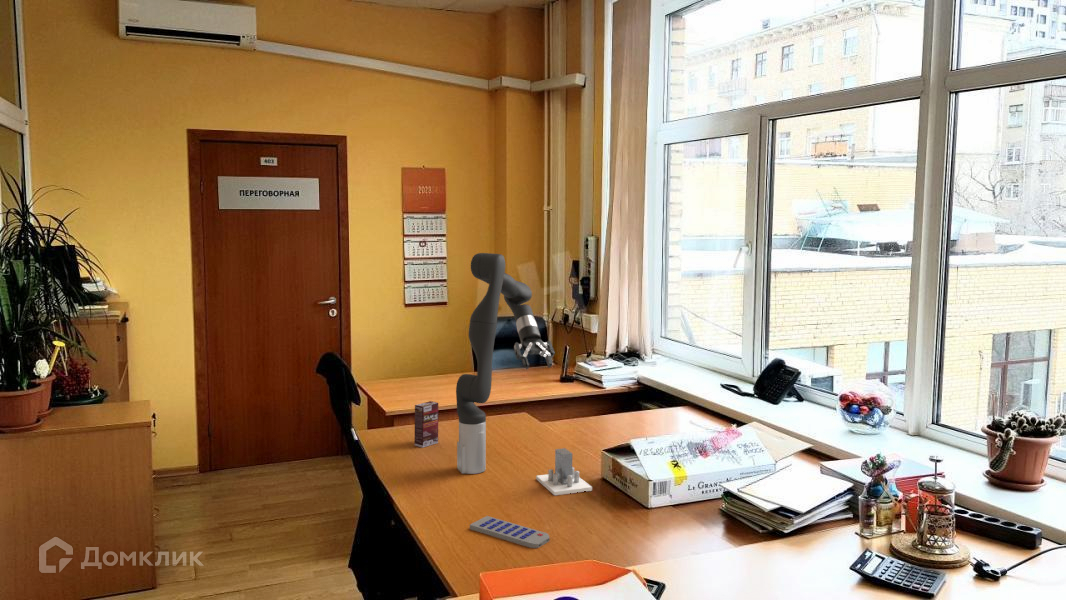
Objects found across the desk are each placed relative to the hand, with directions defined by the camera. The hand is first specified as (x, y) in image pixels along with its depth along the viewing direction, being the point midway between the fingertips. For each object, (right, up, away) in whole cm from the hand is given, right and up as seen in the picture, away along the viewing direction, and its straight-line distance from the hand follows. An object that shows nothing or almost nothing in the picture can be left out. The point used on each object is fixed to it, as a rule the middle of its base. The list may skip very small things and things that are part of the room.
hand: (539, 367), depth 277 cm
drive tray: (+8, -37, -23) cm, 44 cm away
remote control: (-9, -42, -62) cm, 75 cm away
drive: (+8, -35, -23) cm, 43 cm away
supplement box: (-43, -31, +19) cm, 56 cm away
